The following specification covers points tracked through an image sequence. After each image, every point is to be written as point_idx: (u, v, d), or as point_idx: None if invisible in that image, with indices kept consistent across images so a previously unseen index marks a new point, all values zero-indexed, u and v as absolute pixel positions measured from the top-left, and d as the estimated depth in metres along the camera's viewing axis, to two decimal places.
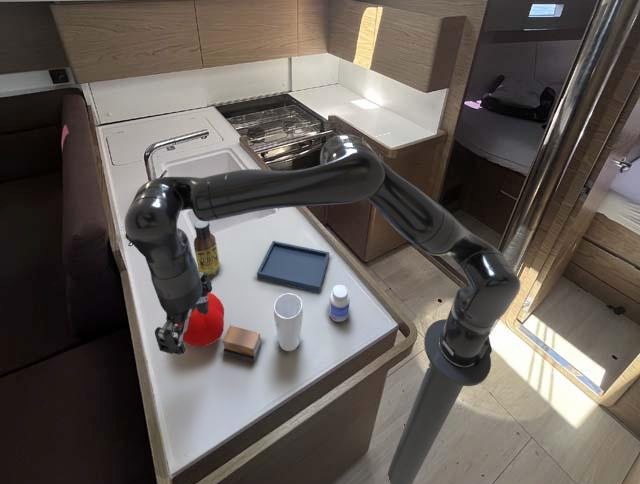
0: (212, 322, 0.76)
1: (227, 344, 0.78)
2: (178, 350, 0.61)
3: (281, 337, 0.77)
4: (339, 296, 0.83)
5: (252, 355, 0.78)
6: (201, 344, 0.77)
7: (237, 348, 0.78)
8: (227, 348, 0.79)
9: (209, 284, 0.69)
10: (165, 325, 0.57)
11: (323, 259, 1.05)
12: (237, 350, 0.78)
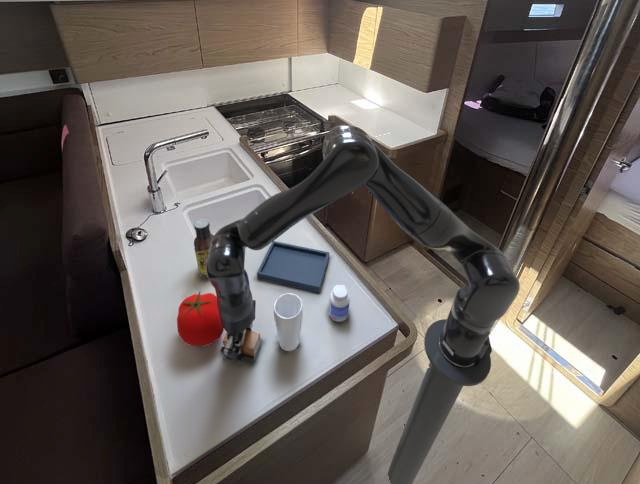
0: (212, 322, 0.76)
1: None
2: (238, 358, 0.76)
3: (281, 337, 0.77)
4: (339, 296, 0.83)
5: (252, 355, 0.78)
6: (201, 344, 0.77)
7: None
8: None
9: (254, 312, 0.82)
10: (227, 345, 0.71)
11: (323, 259, 1.05)
12: None
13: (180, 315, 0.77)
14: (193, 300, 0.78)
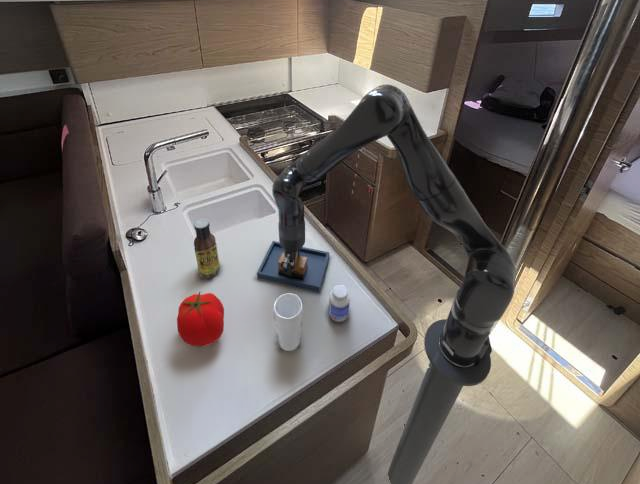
0: (212, 322, 0.76)
1: None
2: (291, 275, 0.96)
3: (281, 337, 0.77)
4: (339, 296, 0.83)
5: (302, 274, 0.97)
6: (201, 344, 0.77)
7: None
8: (281, 269, 0.98)
9: None
10: (286, 260, 0.90)
11: (323, 259, 1.05)
12: None
13: (180, 315, 0.77)
14: (193, 300, 0.78)
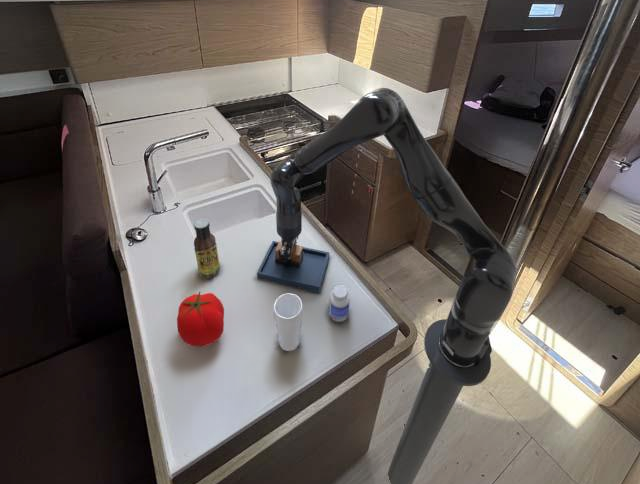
0: (212, 322, 0.76)
1: None
2: (288, 263, 1.00)
3: (281, 337, 0.77)
4: (339, 296, 0.83)
5: (298, 261, 1.01)
6: (201, 344, 0.77)
7: None
8: (278, 257, 1.02)
9: None
10: (283, 248, 0.94)
11: (323, 259, 1.05)
12: None
13: (180, 315, 0.77)
14: (193, 300, 0.78)
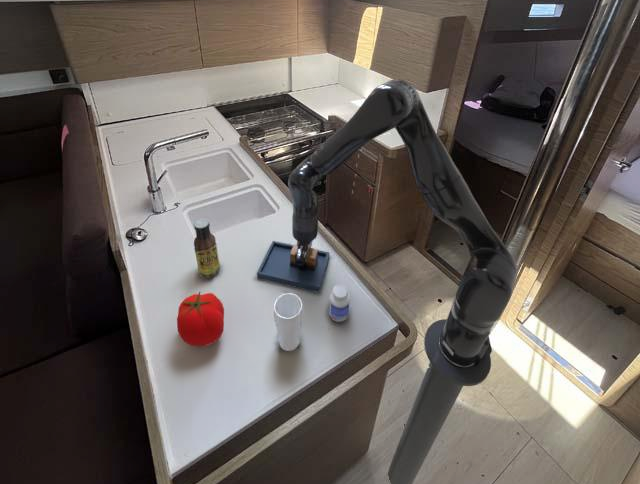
0: (212, 322, 0.76)
1: (293, 256, 1.00)
2: (303, 266, 0.99)
3: (281, 337, 0.77)
4: (339, 296, 0.83)
5: (313, 265, 1.00)
6: (201, 344, 0.77)
7: None
8: (293, 260, 1.01)
9: None
10: (299, 251, 0.94)
11: (323, 259, 1.05)
12: None
13: (180, 315, 0.77)
14: (193, 300, 0.78)
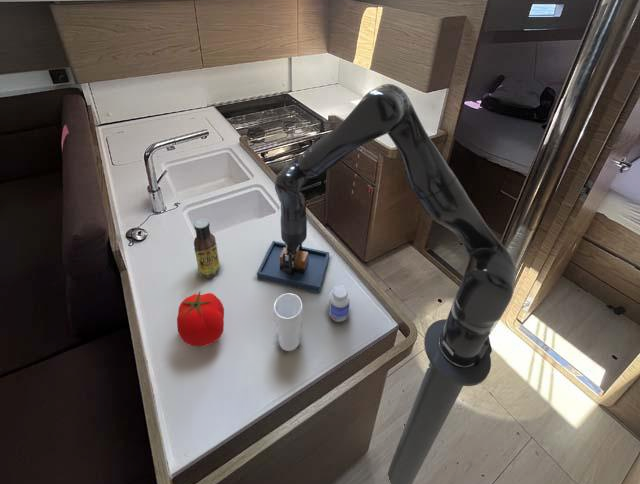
0: (212, 322, 0.76)
1: None
2: (291, 271, 0.96)
3: (281, 337, 0.77)
4: (339, 296, 0.83)
5: (303, 268, 0.99)
6: (201, 344, 0.77)
7: None
8: (282, 263, 1.00)
9: None
10: (288, 252, 0.92)
11: (323, 259, 1.05)
12: None
13: (180, 315, 0.77)
14: (193, 300, 0.78)
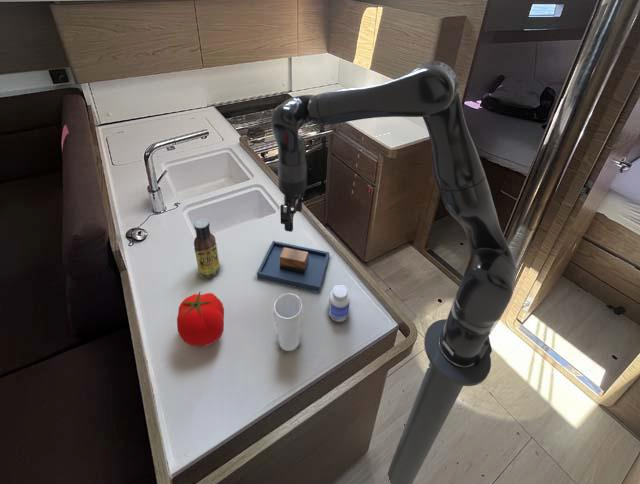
0: (212, 322, 0.76)
1: (283, 259, 0.99)
2: (290, 226, 0.87)
3: (281, 337, 0.77)
4: (339, 296, 0.83)
5: (303, 268, 0.99)
6: (201, 344, 0.77)
7: (291, 262, 0.99)
8: (282, 263, 1.00)
9: None
10: (286, 203, 0.83)
11: (323, 259, 1.05)
12: (291, 264, 0.99)
13: (180, 315, 0.77)
14: (193, 300, 0.78)
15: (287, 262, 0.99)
